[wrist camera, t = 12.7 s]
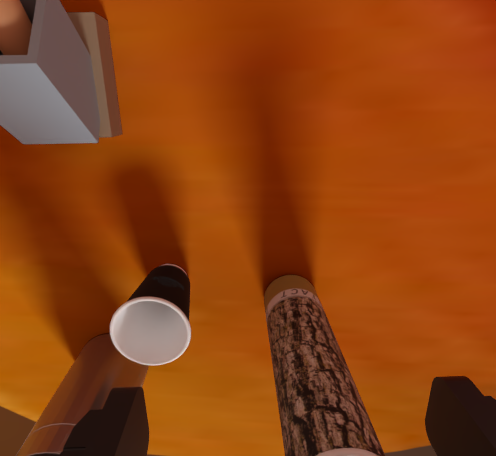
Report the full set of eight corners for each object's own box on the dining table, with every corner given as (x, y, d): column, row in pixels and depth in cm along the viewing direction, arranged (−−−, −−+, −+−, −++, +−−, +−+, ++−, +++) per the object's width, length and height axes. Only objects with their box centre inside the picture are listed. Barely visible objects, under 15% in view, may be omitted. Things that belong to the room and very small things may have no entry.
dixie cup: (151, 314, 47) (127, 374, 36) (128, 261, 44) (95, 309, 34) (208, 299, 46) (201, 355, 36) (189, 244, 44) (175, 289, 33)
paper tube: (300, 324, 48) (362, 538, 24) (255, 307, 47) (273, 514, 23) (324, 283, 46) (416, 472, 22) (276, 264, 45) (321, 443, 21)
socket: (122, 137, 39) (66, 155, 26) (40, 139, 39) (-58, 157, 26) (106, 12, 35) (30, -41, 22) (14, 13, 35) (-117, -39, 22)
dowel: (47, 122, 33) (-43, -19, 22) (34, 103, 34) (-58, -40, 23) (77, 109, 34) (5, -33, 23) (64, 90, 35) (-11, -53, 24)
